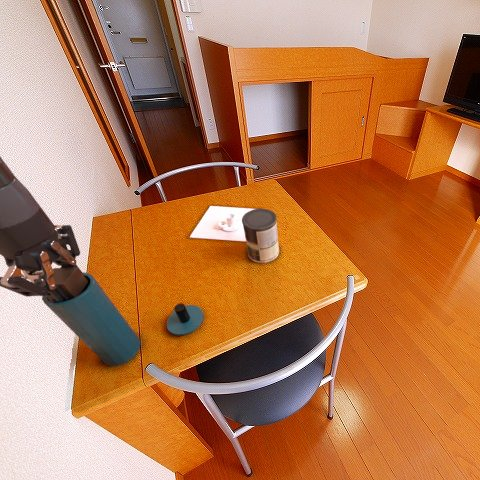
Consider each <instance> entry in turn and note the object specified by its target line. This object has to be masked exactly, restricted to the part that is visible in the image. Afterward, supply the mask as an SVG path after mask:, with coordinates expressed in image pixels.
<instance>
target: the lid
mask: <svg viewBox="0 0 480 480" xmlns="http://www.w3.org/2000/svg"><path fill="white" fill-rule="evenodd" d="M203 321H204V312H203V309H202V308H201V307H200V306H197V305H193V304H187V305H185V304H184V303H182V302H181V303H177V304H176V305H174V307H173V312H172V313H171V314H170V315H169V316H168V318H167V320H166V329H167V330H168V332H169V333H170V334H171V335H174V336H179V337H180V336H186V335H190V334H192V333H193V332H195V331H196V330H197V329H198V328H199V327H201V325H202V323H203Z"/></svg>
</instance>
